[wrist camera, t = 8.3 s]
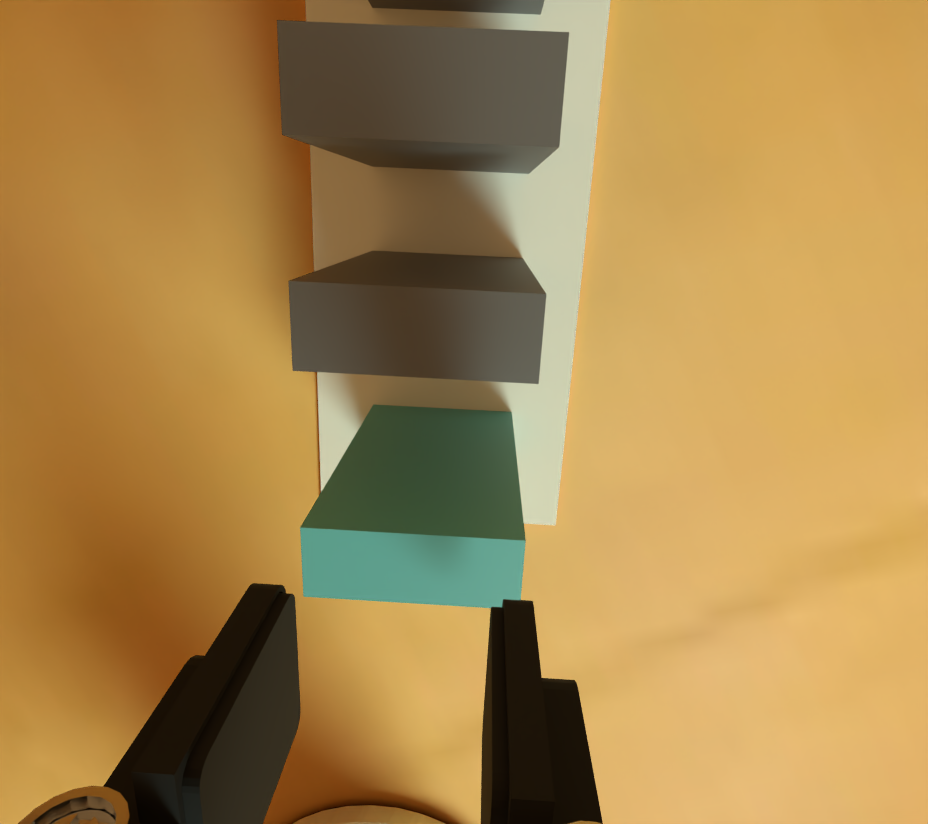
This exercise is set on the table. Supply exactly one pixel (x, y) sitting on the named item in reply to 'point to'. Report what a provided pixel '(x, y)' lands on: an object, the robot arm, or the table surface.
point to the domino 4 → (420, 512)
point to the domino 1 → (465, 5)
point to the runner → (473, 243)
